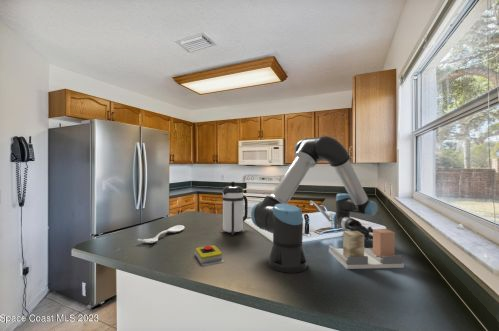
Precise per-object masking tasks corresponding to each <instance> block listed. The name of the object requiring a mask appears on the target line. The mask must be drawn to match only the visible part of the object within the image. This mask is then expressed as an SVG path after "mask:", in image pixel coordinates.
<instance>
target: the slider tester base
mask: <svg viewBox="0 0 499 331" xmlns="http://www.w3.org/2000/svg"><path fill="white" fill-rule="evenodd" d="M328 253H329V254H330V255H331V256H333V257H334V258H335V259H336V261H338V262H339V263H340V264H341V265H342V266H343V267H344V268H345V269H346V270H351V269H352V270H354V269H357V270H359V269H364V270H365V269H398V268H399V269H401V268H405V264H404V263H403V255H396V254H395V256H382V258H380V257H379V256H377V255H375V254H374V253H373V247H365V246H364V256H347V258H345V257H344V256H343V248H335V247H333V245H328Z"/></svg>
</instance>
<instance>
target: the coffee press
mask: <svg viewBox="0 0 499 331" xmlns="http://www.w3.org/2000/svg"><path fill="white" fill-rule="evenodd" d="M230 184H231V185H227V186H225V187H223V189H222V191H221V193H222V206H221V207H222V208H221V209H222V212H221V214H222V215H221V219H222V220H221V222H222V226H221V229H220V230H219V232H220V233H221V234H222V233H223V232H226V233H231V236H232V237H234V236H235V233H237V232H241V231H242V232H243V233H246V229H245V228H244V222H245V221H246V220H247V218H248V212H249V211H248V210H249V208H248V207H249V206H248V198H247V196H246V195H244V192H245V191H244V189H243V187H242V186H241V185H240V186H239V185H236V183H235V182H234V181H232V182H230ZM222 229H223V230H222ZM221 230H222V231H221Z"/></svg>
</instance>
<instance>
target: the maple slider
mask: <svg viewBox="0 0 499 331" xmlns="http://www.w3.org/2000/svg"><path fill="white" fill-rule="evenodd" d="M342 234H343V235H342V236H343V238H342V240H343V242H342V244H343V247H342V249H343V256H344V257H345V258H347V256H364V247H365V237H364V234H362V233H360V232H358V231H346V230H343V232H342Z"/></svg>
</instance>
